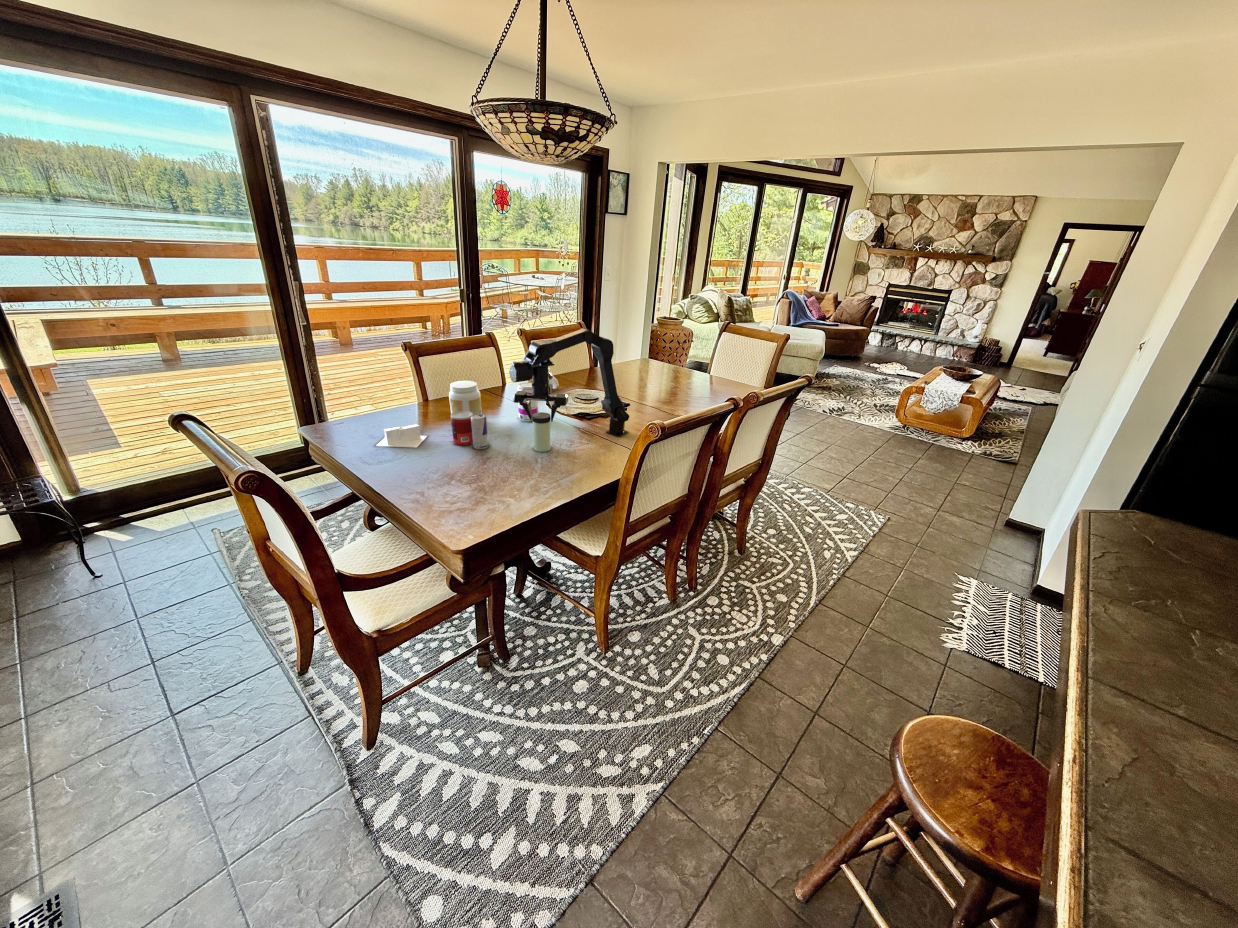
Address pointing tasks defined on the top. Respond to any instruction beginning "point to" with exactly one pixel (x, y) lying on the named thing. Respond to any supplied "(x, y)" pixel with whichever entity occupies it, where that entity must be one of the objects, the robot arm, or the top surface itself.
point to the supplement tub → (465, 397)
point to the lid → (541, 417)
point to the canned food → (462, 428)
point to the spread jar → (553, 381)
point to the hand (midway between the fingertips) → (541, 420)
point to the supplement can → (534, 403)
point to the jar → (541, 436)
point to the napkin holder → (402, 437)
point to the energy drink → (479, 431)
